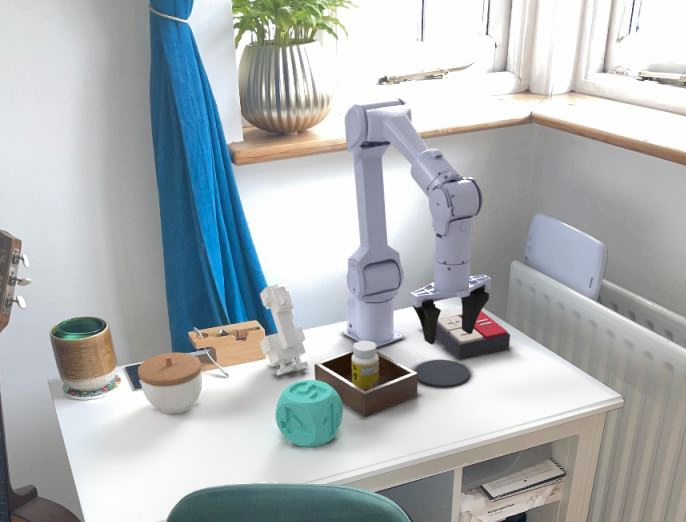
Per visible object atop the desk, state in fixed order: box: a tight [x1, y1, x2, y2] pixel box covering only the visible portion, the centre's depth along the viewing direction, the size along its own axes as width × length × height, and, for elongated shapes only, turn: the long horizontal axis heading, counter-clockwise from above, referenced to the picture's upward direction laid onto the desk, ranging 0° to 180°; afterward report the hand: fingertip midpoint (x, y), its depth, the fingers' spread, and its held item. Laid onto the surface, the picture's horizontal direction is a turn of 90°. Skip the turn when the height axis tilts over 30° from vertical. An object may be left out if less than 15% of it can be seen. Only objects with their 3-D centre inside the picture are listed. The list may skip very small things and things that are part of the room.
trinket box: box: [137, 352, 203, 415], centre depth 138 cm, size 11×11×9 cm
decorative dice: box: [275, 379, 344, 448], centre depth 128 cm, size 8×8×8 cm
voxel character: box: [259, 283, 309, 376], centre depth 147 cm, size 7×12×15 cm
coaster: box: [413, 359, 471, 388], centre depth 146 cm, size 10×10×1 cm
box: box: [314, 349, 419, 418], centre depth 141 cm, size 15×12×4 cm
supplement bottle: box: [352, 341, 379, 391], centre depth 139 cm, size 5×5×8 cm
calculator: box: [436, 304, 511, 360], centre depth 157 cm, size 11×4×15 cm
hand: (448, 336), depth 135 cm, fingers open, 7 cm apart
